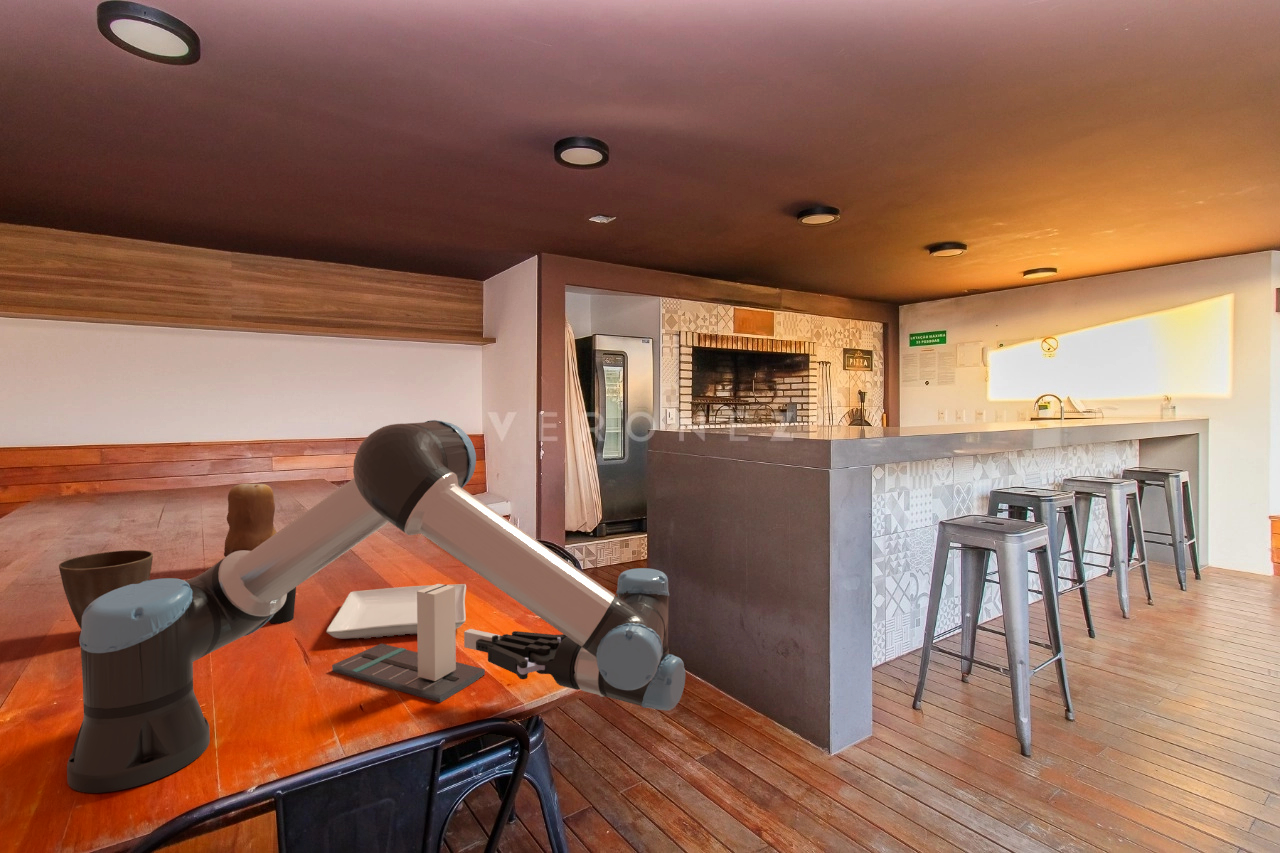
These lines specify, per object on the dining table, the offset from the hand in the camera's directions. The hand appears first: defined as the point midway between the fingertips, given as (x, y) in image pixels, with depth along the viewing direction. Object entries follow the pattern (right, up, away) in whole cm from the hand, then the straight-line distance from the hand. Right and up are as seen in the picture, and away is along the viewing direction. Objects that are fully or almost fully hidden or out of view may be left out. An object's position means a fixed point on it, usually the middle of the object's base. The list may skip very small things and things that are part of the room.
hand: (467, 637), depth 104 cm
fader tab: (-6, -7, +3) cm, 10 cm away
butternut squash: (-85, -6, +75) cm, 113 cm away
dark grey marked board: (-13, -9, +6) cm, 16 cm away
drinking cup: (-51, -8, +33) cm, 61 cm away
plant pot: (-82, -8, +24) cm, 86 cm away
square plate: (-24, -8, +34) cm, 43 cm away
